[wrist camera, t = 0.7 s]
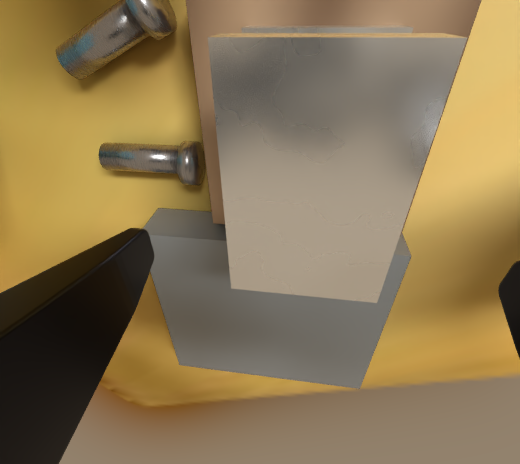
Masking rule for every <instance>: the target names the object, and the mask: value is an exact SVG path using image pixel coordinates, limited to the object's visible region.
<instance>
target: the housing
mask: <svg viewBox="0 0 520 464" xmlns="http://www.w3.org/2000/svg"><path fill="white" fill-rule="evenodd" d="M412 31H413V27H409V26H404V25H360V26H246V27H242V33H221V34H217V35H214V36H210V37H208V47H209V58H210V68H211V79H212V89H213V100H214V111H215V121H216V132H217V143H218V153H219V164H220V174H221V185H222V196H223V206H224V217H225V228H226V238H227V249H228V259H229V270H230V281H231V289H241V290H251V291H261V292H271V293H281V294H291V295H301V296H311V297H322V298H332V299H342V300H352V301H362V302H372V303H377V302H378V299H379V296H380V293H381V290H382V287H383V284H384V281H385V278H386V275H387V272H388V269H389V266H390V263H391V261H392V258H393V255H394V252H395V249H396V246H397V243H398V240H399V237H400V234H401V231H402V228H403V225H404V222H405V219H406V217H407V214H408V211H409V208H410V205H411V202H412V199H413V196H414V193H415V190H416V187H417V184H418V181H419V178H420V175H421V173H422V170H423V167H424V164H425V161H426V158H427V155H428V152H429V149H430V146H431V143H432V140H433V137H434V134H435V131H436V129H437V126H438V123H439V120H440V117H441V114H442V111H443V108H444V105H445V102H446V99H447V96H448V93H449V90H450V87H451V85H452V82H453V79H454V76H455V73H456V70H457V67H458V64H459V61H460V58H461V55H462V52H463V49H464V46H465V43H466V41H467V37H462V36H457V35H451V34H446V33H412Z"/></svg>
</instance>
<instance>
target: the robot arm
mask: <svg viewBox="0 0 520 464" xmlns="http://www.w3.org/2000/svg"><path fill="white" fill-rule="evenodd" d="M153 261H154V250H153V247H152V243H151V240H150V236H149V233H148V232H147V230H145V229H139V228H130V229H128V230H126V231H124V232H122V233H120V234H118V235H116V236H114V237H112V238H110V239H108V240H106V241H104V242H102V243H100V244H98V245H96V246H94V247H92V248H90V249H88V250H86V251H84V252H82V253H80V254H78V255H76V256H74V257H72V258H70V259H68V260H66V261H64V262H62V263H60V264H58V265H56V266H54V267H52V268H50V269H48V270H46V271H44V272H42V273H40V274H38V275H36V276H34V277H32V278H30V279H28V280H26V281H24V282H22V283H20V284H18V285H16V286H14V287H12V288H10V289H8V290H6V291H4V292H2V293H0V464H59V462H60V460H61V458H62V456H63V454H64V452H65V450H66V448H67V446H68V444H69V442H70V440H71V438H72V436H73V434H74V432H75V430H76V428H77V426H78V424H79V422H80V420H81V418H82V416H83V414H84V412H85V410H86V408H87V406H88V404H89V402H90V400H91V398H92V396H93V394H94V392H95V390H96V388H97V386H98V384H99V382H100V380H101V378H102V376H103V374H104V372H105V370H106V368H107V366H108V364H109V362H110V360H111V358H112V356H113V354H114V352H115V350H116V348H117V346H118V344H119V342H120V340H121V338H122V336H123V334H124V332H125V330H126V328H127V326H128V324H129V322H130V320H131V318H132V316H133V314H134V312H135V310H136V307H137V305H138V302H139V299H140V297H141V294H142V291H143V289H144V286H145V283H146V280H147V278H148V275H149V272H150V270H151V267H152V264H153ZM498 291H499V297H500V300H501V303H502V306H503V309H504V313H505V316H506V319H507V322H508V325H509V328H510V331H511V335H512V338H513V341H514V344H515V347H516V350H517V353H518V355H519V358H520V261H517V262H515V263H514V264H513V265H512V267H511V268H510V270H509V271H508V273H507V274H506V276H505V277H504V279H503V280H502V282H501V283H500V285H499V290H498Z"/></svg>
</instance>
